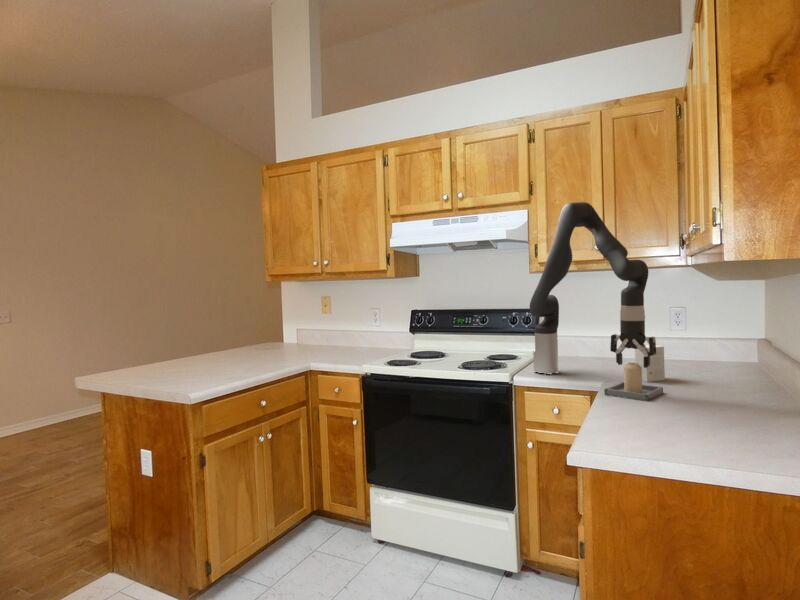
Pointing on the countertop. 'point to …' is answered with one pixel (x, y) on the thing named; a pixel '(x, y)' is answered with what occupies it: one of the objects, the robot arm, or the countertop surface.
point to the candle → (633, 378)
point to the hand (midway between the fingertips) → (632, 365)
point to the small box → (652, 364)
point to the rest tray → (646, 394)
